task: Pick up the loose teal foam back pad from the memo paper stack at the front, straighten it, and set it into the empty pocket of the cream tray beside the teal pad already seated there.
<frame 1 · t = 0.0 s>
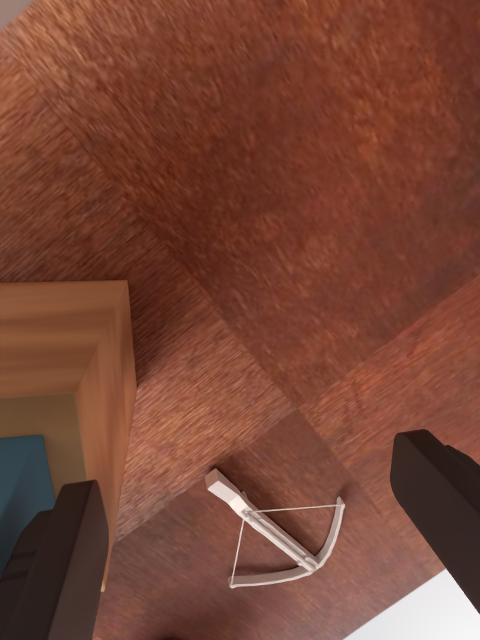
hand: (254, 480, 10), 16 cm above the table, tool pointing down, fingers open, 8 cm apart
memo paper stack: (19, 343, 23), on the table
crossbow: (265, 517, 32), on the table
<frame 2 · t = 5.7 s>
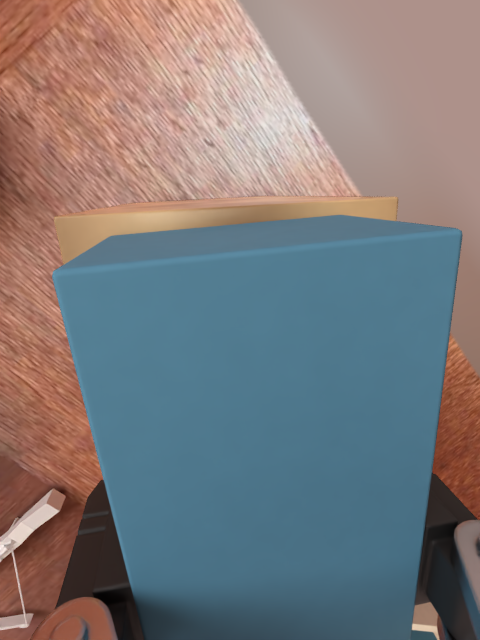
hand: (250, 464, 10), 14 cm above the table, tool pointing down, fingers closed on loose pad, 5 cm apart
memo paper stack: (209, 312, 24), on the table
loose pad: (247, 439, 10), point 14 cm above the table, touching gripper, memo paper stack
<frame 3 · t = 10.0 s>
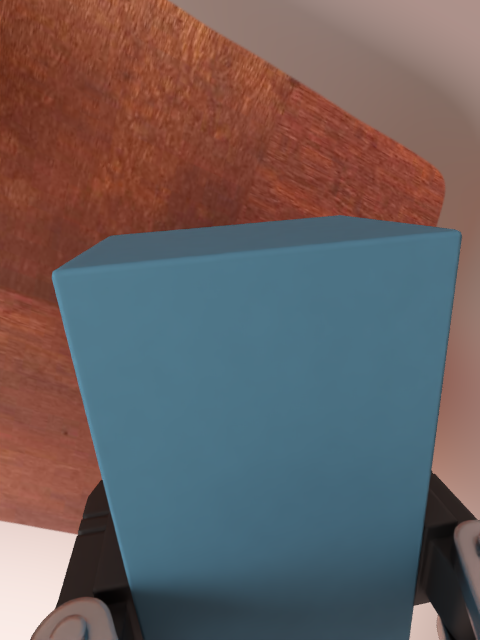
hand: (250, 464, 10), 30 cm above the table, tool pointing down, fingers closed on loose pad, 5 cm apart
loose pad: (246, 439, 10), point 29 cm above the table, touching gripper
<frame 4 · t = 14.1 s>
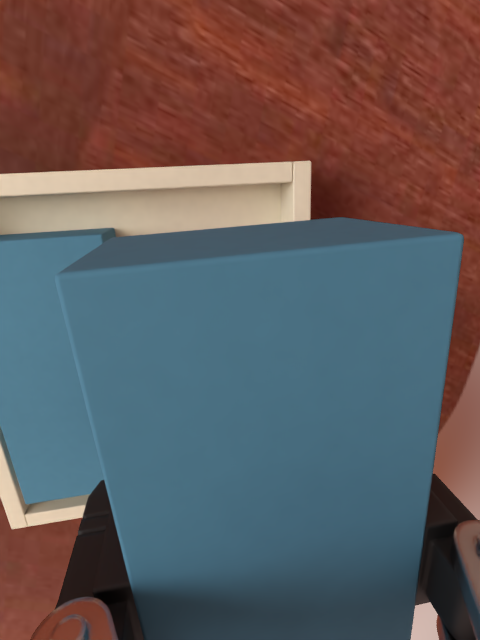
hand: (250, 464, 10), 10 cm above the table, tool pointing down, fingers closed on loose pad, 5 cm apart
cream tray: (150, 342, 19), on the table
seated pad: (77, 354, 18), resting on cream tray
loose pad: (247, 441, 10), point 10 cm above the table, touching gripper
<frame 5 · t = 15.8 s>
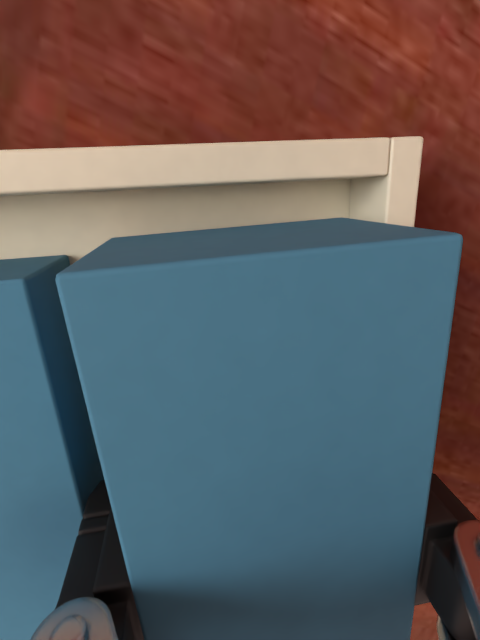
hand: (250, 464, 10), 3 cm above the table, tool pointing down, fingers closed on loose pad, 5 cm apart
cream tray: (134, 428, 12), on the table
seated pad: (14, 456, 11), resting on cream tray
loose pad: (247, 441, 10), point 2 cm above the table, touching gripper
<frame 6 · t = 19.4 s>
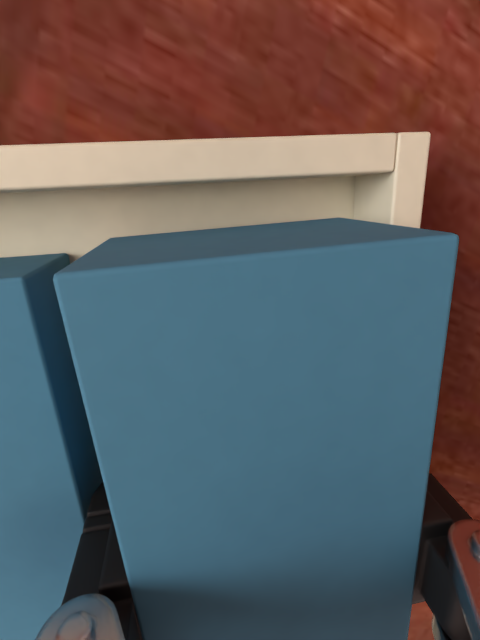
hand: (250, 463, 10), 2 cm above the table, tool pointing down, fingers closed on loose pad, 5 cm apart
cream tray: (135, 429, 12), on the table
seated pad: (14, 457, 11), resting on cream tray
loose pad: (246, 440, 10), point 2 cm above the table, touching gripper
when the fingers open (3 cm above the table, at t = 22.6 s): loose pad drops 2 cm, resting on cream tray.
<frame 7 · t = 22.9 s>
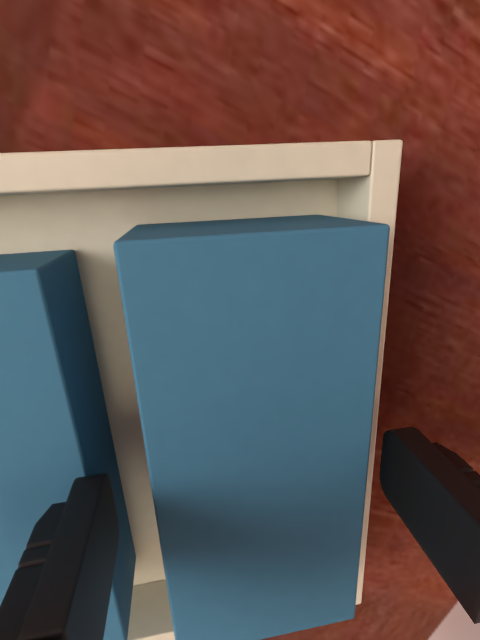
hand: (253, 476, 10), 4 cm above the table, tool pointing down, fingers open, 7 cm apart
cream tray: (135, 414, 13), on the table
seated pad: (23, 439, 12), resting on cream tray
loose pad: (239, 396, 13), point 1 cm above the table, touching cream tray
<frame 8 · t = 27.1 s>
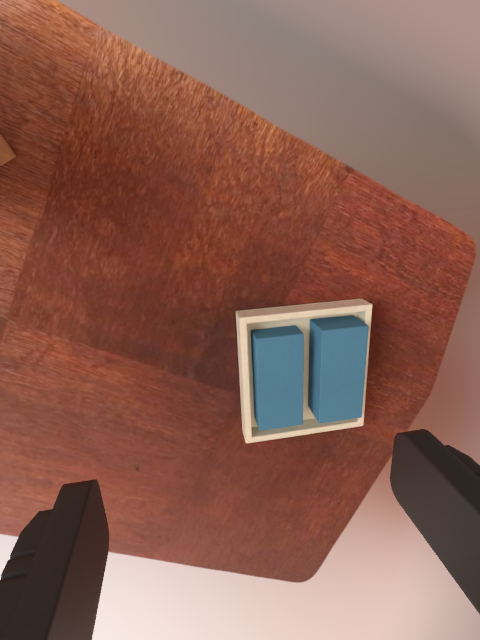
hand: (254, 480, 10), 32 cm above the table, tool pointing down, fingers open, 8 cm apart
cream tray: (299, 367, 46), on the table
seated pad: (274, 372, 45), resting on cream tray
loose pad: (329, 361, 46), point 1 cm above the table, touching cream tray
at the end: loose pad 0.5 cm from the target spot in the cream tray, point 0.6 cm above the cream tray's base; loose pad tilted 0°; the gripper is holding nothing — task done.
